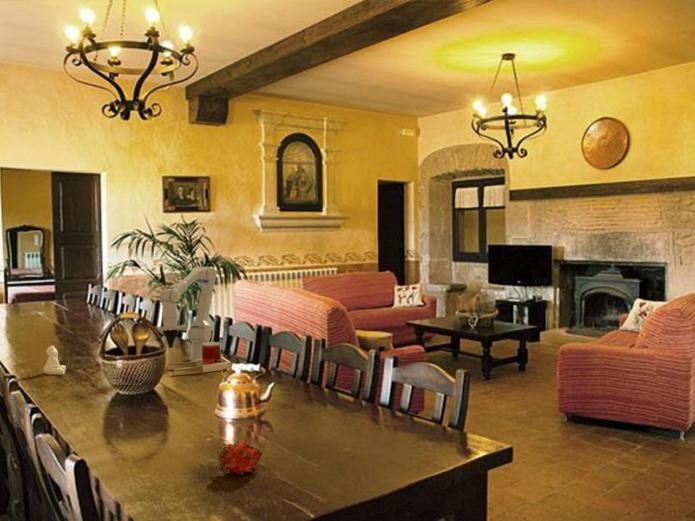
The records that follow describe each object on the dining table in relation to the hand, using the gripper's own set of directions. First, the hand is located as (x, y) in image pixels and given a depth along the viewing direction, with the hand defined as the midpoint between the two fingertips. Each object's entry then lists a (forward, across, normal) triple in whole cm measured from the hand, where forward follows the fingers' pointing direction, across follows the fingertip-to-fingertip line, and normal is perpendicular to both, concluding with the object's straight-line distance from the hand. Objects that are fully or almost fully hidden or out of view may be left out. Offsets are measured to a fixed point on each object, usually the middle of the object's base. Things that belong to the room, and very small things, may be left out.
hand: (170, 347), depth 262 cm
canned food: (+10, +17, -5) cm, 20 cm away
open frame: (+10, +17, -5) cm, 20 cm away
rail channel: (+10, +5, -5) cm, 12 cm away
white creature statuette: (+10, -45, +19) cm, 50 cm away
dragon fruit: (+10, -9, -121) cm, 122 cm away
